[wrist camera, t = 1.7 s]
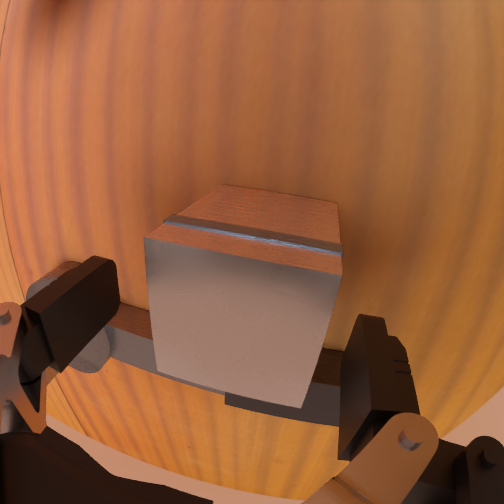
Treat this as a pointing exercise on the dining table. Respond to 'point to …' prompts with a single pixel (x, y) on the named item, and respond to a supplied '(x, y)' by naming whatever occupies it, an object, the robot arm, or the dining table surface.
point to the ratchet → (143, 356)
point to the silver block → (244, 291)
